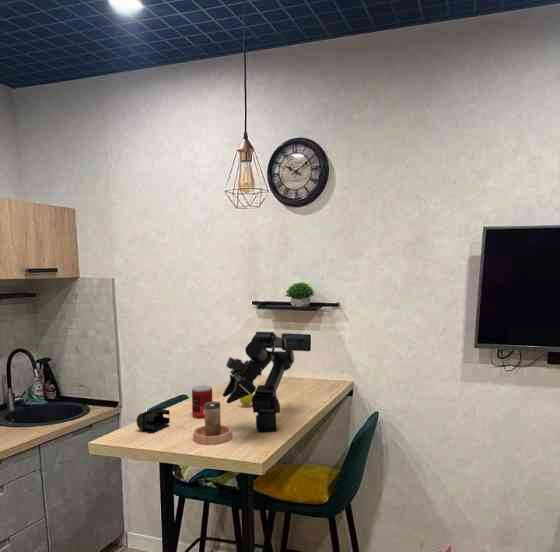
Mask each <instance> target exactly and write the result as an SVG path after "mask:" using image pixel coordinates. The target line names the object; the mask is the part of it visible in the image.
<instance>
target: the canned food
mask: <svg viewBox="0 0 560 552" xmlns="http://www.w3.org/2000/svg"><path fill="white" fill-rule="evenodd" d="M191 398H192V399H191V405H192V406H191V410H192V413H191V414H192V417H193V418H194V419H205V403H207V402H213V387H212V386H211V385H205V384H203V385H197V386H192V388H191Z"/></svg>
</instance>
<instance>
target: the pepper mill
mask: <svg viewBox="0 0 560 552" xmlns="http://www.w3.org/2000/svg"><path fill="white" fill-rule="evenodd" d="M221 423H222V422H221V402H219V401H212V402H207V403H205V418H204V426H205V436H218V435H221V425H222V424H221Z"/></svg>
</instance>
